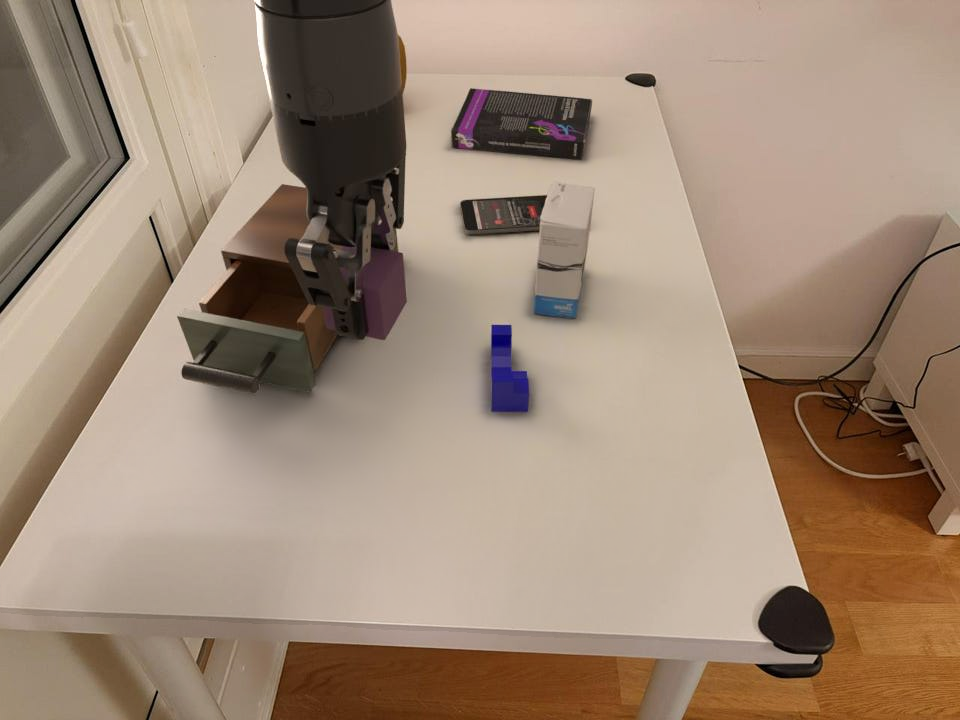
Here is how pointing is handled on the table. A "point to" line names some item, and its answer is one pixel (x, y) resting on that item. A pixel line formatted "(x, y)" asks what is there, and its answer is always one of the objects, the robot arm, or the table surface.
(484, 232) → the smartphone
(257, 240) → the cabinet
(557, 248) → the ink box
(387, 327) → the block
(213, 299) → the drawer
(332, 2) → the robot arm
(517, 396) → the cable holder
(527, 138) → the box
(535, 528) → the table surface
